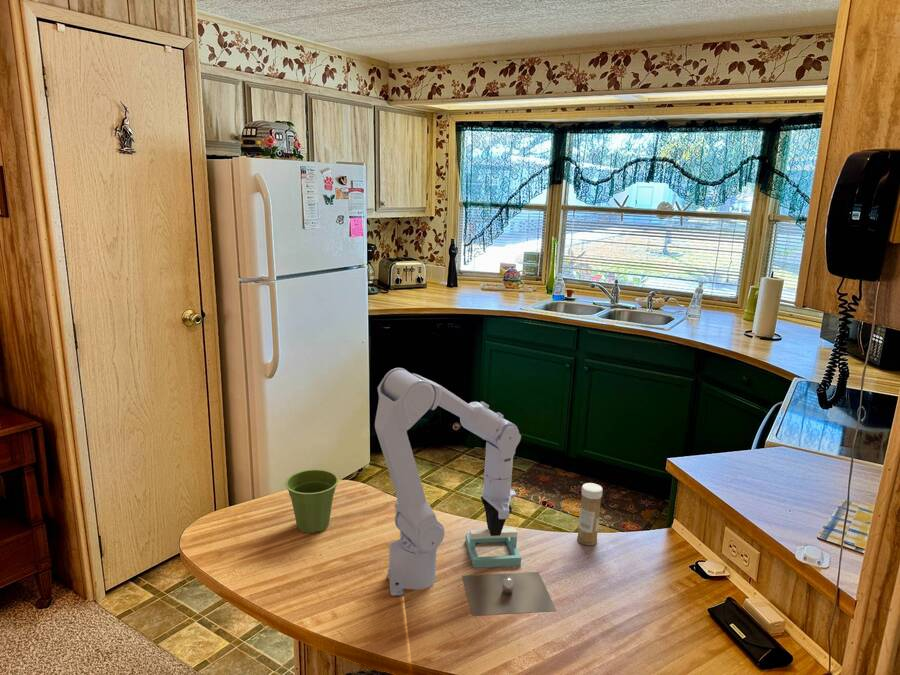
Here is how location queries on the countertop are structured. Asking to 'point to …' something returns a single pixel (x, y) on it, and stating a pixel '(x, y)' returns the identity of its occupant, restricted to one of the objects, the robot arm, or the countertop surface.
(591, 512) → the sprinkles bottle
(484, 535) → the teal square frame
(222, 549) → the countertop surface
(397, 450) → the robot arm
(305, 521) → the plant pot
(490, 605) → the post stand
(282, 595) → the countertop surface
